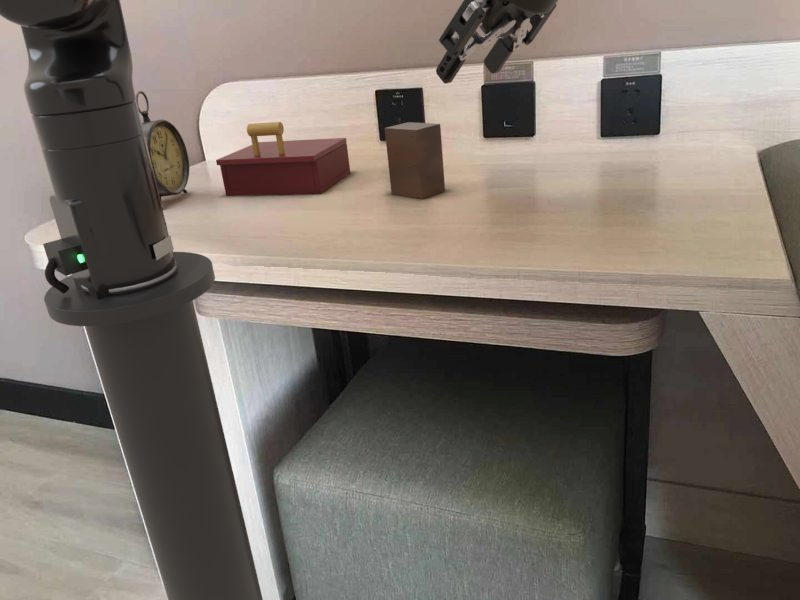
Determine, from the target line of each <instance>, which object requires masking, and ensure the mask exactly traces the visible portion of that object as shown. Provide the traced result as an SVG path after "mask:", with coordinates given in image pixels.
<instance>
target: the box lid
mask: <svg viewBox="0 0 800 600" xmlns="http://www.w3.org/2000/svg"><path fill="white" fill-rule="evenodd" d="M284 131H285V128H284V125H283V123H282V122H281V121H273V122H271V121H270V122H256V123H248V124H247V126H246V134H247V135H248V136H249V137H250V139H251V144H250V145H248V146H246V147H243V148H240V149H238V150H237V151H234V152H231V153H229V154H227V155H225V156H222V157H220V158H217V159H216V160H215V161H216V166H220V165H237V164H261V163H285V162H309V161H315V160H317V159H319V158H321V157H322V156H324V155H326V154H328V153H329V152H331V151H333V150H335V149H336V148H338V147H340V146H342V145H344V144H345V143H347V138H346V137H334V138H333V137H332V138H315V139H314V138H313V139H297V140H296V139H293V140H284V139H283V134H284ZM267 136H275V140H276V141H274V140H273V141H259V140H258V137H267Z"/></svg>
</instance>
